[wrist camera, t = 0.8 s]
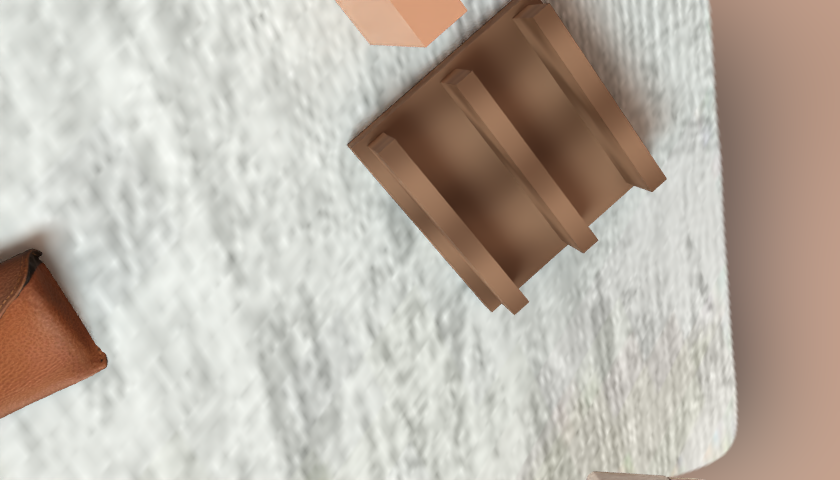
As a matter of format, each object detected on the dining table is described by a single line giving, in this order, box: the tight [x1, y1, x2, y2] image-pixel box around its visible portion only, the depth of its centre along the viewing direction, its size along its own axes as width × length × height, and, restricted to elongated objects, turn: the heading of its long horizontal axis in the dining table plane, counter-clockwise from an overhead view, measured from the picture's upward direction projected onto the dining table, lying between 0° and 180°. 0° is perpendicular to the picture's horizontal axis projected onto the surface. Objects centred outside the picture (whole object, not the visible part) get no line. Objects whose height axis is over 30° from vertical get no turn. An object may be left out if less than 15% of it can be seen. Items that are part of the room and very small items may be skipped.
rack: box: [347, 0, 667, 315], centre depth 45 cm, size 14×14×4 cm
